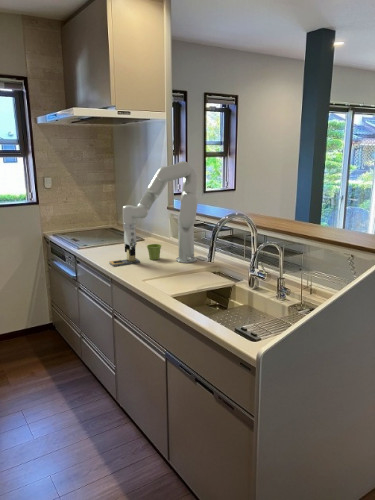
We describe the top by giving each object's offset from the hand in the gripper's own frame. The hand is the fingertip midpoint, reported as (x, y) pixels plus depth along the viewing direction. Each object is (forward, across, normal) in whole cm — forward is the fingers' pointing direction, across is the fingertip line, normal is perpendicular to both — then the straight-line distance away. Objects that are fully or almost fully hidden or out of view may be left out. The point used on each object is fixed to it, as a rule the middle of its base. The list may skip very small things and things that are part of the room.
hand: (130, 253), depth 246 cm
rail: (+6, 0, +4) cm, 7 cm away
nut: (+5, 0, -1) cm, 5 cm away
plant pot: (+5, 0, -16) cm, 17 cm away
